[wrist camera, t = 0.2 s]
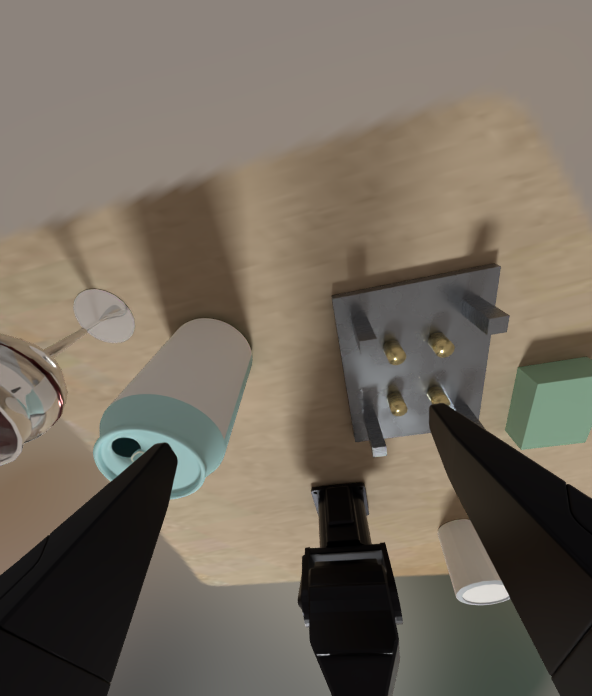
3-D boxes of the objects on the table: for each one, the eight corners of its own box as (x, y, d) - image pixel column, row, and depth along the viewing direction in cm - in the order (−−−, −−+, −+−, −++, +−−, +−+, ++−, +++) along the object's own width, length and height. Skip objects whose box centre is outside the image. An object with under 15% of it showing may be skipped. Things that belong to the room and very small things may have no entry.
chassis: (473, 420, 28) (499, 457, 24) (354, 436, 30) (361, 472, 26) (494, 263, 20) (537, 281, 17) (331, 295, 22) (336, 318, 18)
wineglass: (115, 267, 21) (-66, 344, 11) (160, 342, 25) (54, 455, 14) (43, 290, 22) (-182, 380, 12) (95, 359, 26) (-46, 475, 15)
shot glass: (488, 537, 39) (522, 601, 33) (438, 546, 41) (461, 609, 35) (481, 511, 36) (517, 577, 30) (428, 522, 38) (451, 587, 32)
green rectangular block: (561, 420, 28) (585, 442, 26) (502, 427, 29) (520, 449, 27) (583, 354, 24) (613, 373, 22) (515, 365, 25) (537, 384, 23)
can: (176, 376, 26) (93, 499, 16) (172, 308, 23) (62, 408, 13) (250, 387, 27) (215, 514, 16) (257, 322, 23) (218, 431, 13)
